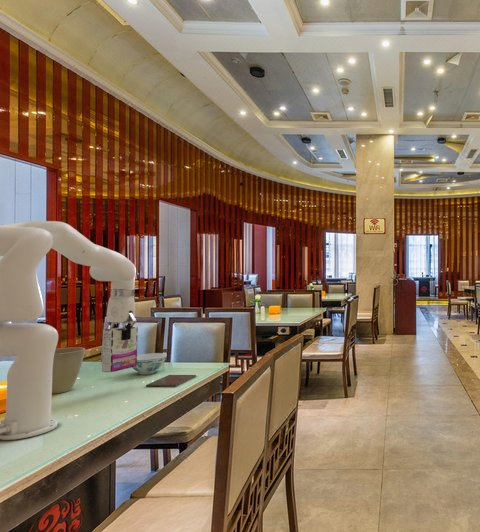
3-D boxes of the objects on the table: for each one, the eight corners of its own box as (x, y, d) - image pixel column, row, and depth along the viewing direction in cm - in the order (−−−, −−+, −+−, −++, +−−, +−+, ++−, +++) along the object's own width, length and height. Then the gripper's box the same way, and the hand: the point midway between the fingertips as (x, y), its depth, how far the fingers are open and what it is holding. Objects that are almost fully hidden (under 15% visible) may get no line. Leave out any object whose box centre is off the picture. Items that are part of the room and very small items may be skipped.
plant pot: (93, 387, 152) (94, 348, 152) (49, 398, 138) (51, 355, 138) (67, 384, 156) (68, 346, 157) (23, 394, 142) (24, 353, 143)
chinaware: (127, 378, 165) (128, 361, 165) (127, 371, 177) (128, 355, 177) (167, 373, 174) (167, 357, 174) (165, 367, 186) (165, 351, 186)
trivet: (175, 386, 154) (175, 385, 154) (146, 386, 154) (146, 384, 154) (195, 376, 170) (195, 374, 170) (169, 376, 170) (169, 374, 170)
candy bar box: (127, 365, 153) (128, 325, 154) (137, 366, 152) (138, 326, 153) (100, 371, 142) (102, 328, 143) (110, 372, 141) (112, 329, 142)
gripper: (97, 293, 148) (95, 339, 147) (128, 294, 143) (126, 342, 142) (116, 293, 155) (114, 337, 154) (147, 294, 150) (145, 339, 149)
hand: (120, 338), depth 148 cm, fingers closed on candy bar box, 5 cm apart
